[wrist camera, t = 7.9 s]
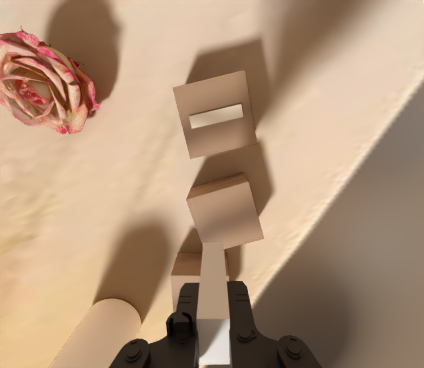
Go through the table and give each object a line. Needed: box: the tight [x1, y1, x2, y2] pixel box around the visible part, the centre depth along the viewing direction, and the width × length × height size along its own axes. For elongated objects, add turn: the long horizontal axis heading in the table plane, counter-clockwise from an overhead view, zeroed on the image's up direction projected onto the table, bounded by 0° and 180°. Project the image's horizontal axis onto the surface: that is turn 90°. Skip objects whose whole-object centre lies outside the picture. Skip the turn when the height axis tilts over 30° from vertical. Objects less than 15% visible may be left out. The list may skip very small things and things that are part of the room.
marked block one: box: [173, 70, 257, 159], centre depth 23 cm, size 7×7×5 cm
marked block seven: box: [171, 253, 229, 312], centre depth 29 cm, size 7×7×5 cm
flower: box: [0, 30, 100, 134], centre depth 22 cm, size 10×9×8 cm
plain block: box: [186, 173, 264, 249], centre depth 26 cm, size 7×7×5 cm
